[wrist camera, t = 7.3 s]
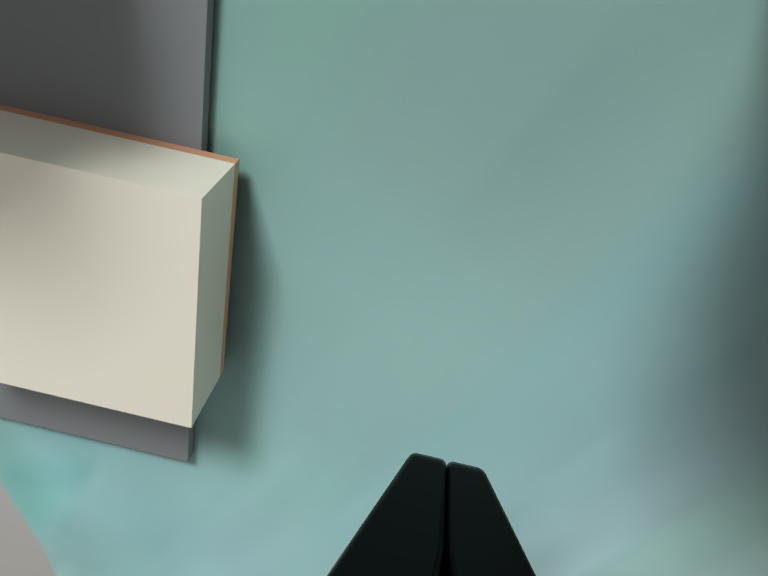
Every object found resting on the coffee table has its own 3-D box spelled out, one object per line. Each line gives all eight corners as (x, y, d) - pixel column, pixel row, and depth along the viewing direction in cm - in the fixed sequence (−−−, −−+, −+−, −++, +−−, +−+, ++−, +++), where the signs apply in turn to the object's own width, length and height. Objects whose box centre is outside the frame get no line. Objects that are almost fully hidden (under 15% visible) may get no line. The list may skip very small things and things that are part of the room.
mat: (215, -38, 17) (208, -36, 17) (192, 452, 27) (187, 461, 26) (-170, -123, 18) (-187, -124, 17) (-60, 392, 27) (-69, 400, 27)
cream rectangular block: (201, 198, 17) (-138, 120, 17) (191, 428, 21) (-83, 363, 21) (239, 158, 20) (-56, 91, 20) (223, 370, 24) (-21, 312, 24)
